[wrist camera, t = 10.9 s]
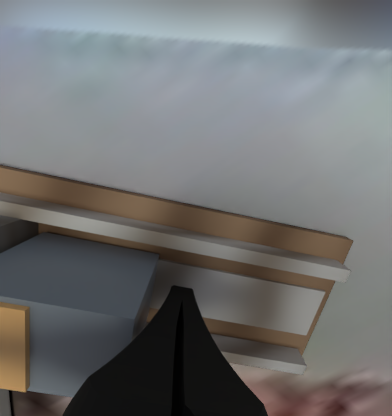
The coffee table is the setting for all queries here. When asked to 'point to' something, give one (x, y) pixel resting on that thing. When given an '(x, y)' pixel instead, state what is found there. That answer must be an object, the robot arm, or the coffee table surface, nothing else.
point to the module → (68, 310)
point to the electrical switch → (4, 403)
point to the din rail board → (195, 259)
